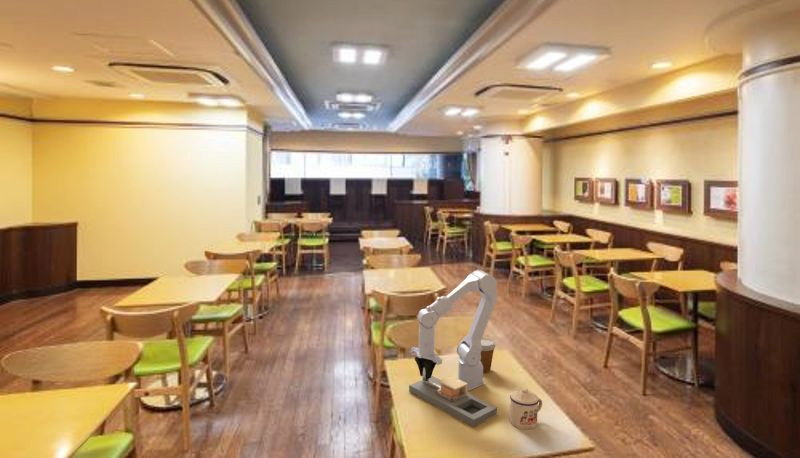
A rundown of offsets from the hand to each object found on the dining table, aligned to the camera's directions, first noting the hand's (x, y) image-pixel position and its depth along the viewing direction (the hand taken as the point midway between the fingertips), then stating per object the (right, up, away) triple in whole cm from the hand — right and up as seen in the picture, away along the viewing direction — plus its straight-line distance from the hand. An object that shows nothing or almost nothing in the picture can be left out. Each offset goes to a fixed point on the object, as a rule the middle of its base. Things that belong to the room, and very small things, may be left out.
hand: (425, 376), depth 178 cm
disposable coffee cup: (+24, -3, +18) cm, 31 cm away
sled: (+5, -3, -5) cm, 8 cm away
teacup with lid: (+32, -9, -21) cm, 39 cm away
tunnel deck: (+8, -6, -9) cm, 14 cm away
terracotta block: (+8, -4, -9) cm, 13 cm away
